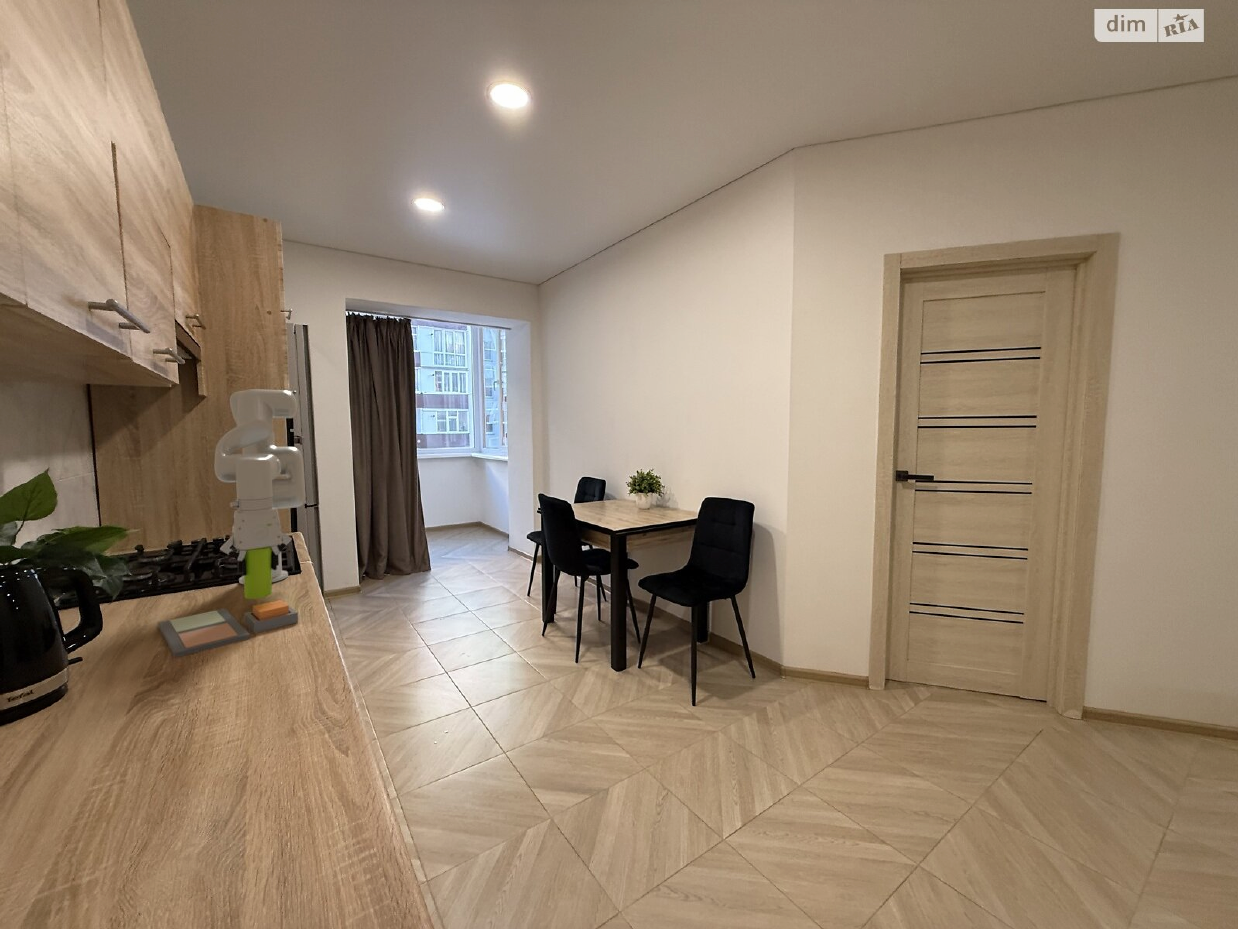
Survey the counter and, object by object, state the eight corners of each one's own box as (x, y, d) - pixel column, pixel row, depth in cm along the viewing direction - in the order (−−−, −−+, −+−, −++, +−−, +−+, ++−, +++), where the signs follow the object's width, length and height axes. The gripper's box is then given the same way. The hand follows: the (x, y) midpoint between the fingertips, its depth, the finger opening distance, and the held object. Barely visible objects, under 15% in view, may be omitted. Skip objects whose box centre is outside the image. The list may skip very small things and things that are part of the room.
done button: (253, 614, 125) (252, 606, 124) (281, 607, 129) (281, 599, 129) (259, 620, 121) (259, 612, 120) (288, 613, 125) (288, 605, 125)
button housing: (244, 623, 125) (244, 613, 124) (286, 613, 131) (286, 603, 131) (254, 633, 119) (254, 623, 118) (298, 622, 125) (297, 612, 125)
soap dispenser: (265, 600, 131) (264, 524, 129) (238, 598, 131) (237, 522, 129) (280, 592, 137) (280, 519, 135) (255, 590, 137) (254, 518, 135)
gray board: (158, 626, 122) (158, 621, 122) (225, 611, 132) (225, 607, 132) (174, 657, 106) (174, 652, 106) (249, 638, 116) (249, 633, 116)
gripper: (216, 511, 122) (221, 583, 124) (297, 502, 135) (300, 567, 137) (210, 506, 127) (214, 575, 129) (289, 498, 140) (291, 561, 142)
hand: (258, 571), depth 133 cm, fingers closed on soap dispenser, 6 cm apart
